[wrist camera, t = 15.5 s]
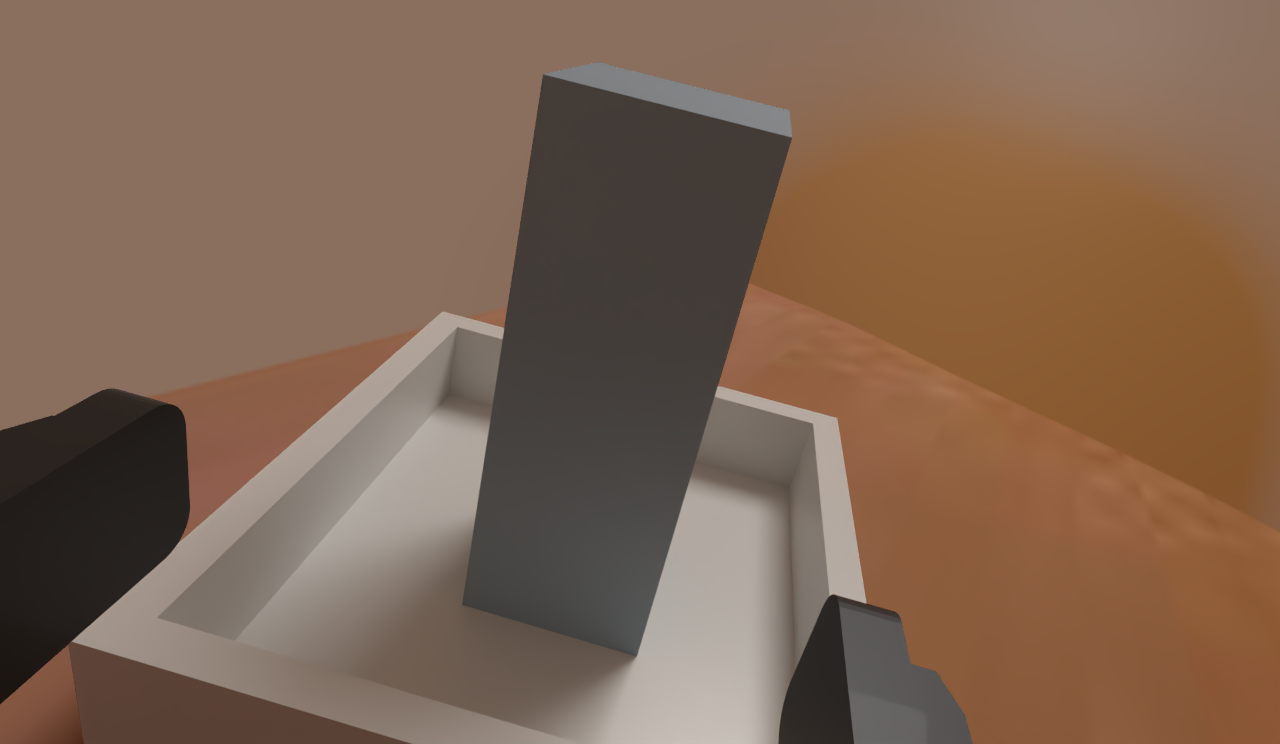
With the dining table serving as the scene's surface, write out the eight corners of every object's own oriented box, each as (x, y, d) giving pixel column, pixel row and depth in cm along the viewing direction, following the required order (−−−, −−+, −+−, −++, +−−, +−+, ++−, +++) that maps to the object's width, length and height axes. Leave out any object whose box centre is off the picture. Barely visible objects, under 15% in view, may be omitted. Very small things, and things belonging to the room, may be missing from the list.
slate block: (662, 544, 25) (789, 110, 19) (637, 656, 21) (792, 137, 15) (517, 502, 26) (597, 62, 20) (461, 605, 21) (542, 74, 15)
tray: (805, 501, 31) (837, 418, 30) (837, 1010, 15) (912, 894, 14) (433, 398, 32) (442, 311, 30) (88, 778, 16) (67, 640, 14)
